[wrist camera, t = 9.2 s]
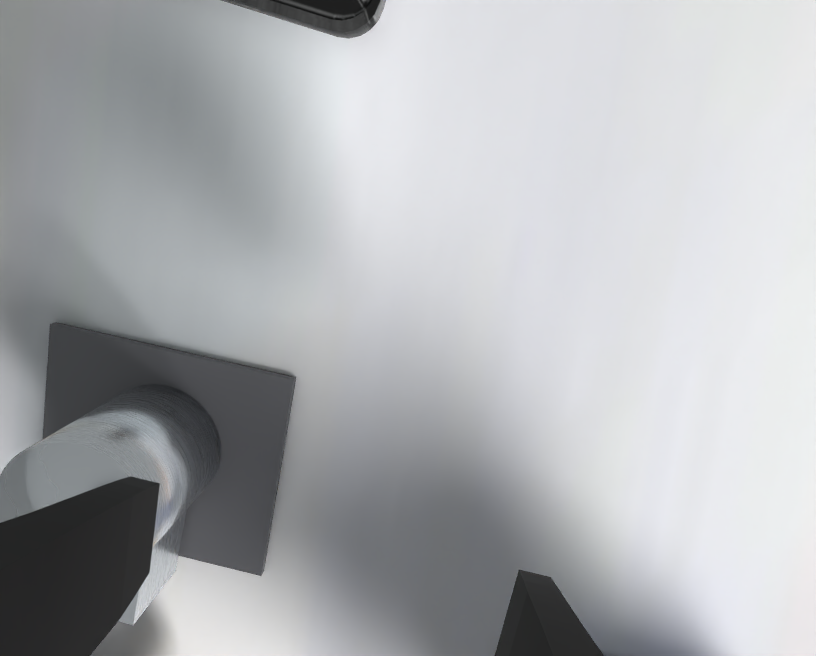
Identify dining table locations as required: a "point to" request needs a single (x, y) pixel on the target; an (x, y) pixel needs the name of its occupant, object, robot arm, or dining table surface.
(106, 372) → the mat
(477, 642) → the dining table surface
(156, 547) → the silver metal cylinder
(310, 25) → the phone
